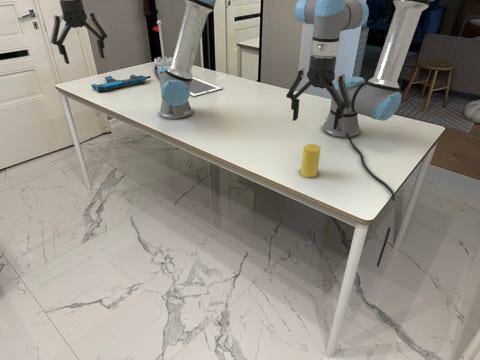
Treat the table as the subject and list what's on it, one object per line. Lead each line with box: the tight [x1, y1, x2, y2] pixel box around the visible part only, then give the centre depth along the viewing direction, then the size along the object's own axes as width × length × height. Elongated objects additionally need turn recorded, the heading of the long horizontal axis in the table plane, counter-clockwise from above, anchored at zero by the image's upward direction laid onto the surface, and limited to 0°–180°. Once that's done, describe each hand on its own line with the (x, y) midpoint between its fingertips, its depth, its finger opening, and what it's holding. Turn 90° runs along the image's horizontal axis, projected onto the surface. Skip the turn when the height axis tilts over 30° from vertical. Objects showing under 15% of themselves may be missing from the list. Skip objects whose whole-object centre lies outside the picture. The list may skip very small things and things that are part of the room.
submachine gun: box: [90, 74, 152, 92], centre depth 206 cm, size 34×4×25 cm
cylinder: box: [300, 143, 322, 178], centre depth 118 cm, size 6×6×10 cm
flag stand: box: [152, 19, 173, 69], centre depth 231 cm, size 13×13×30 cm
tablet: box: [190, 76, 223, 97], centre depth 203 cm, size 32×20×1 cm, turn 41°
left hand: (85, 60), depth 133 cm, fingers open, 13 cm apart
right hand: (314, 123), depth 110 cm, fingers open, 13 cm apart
